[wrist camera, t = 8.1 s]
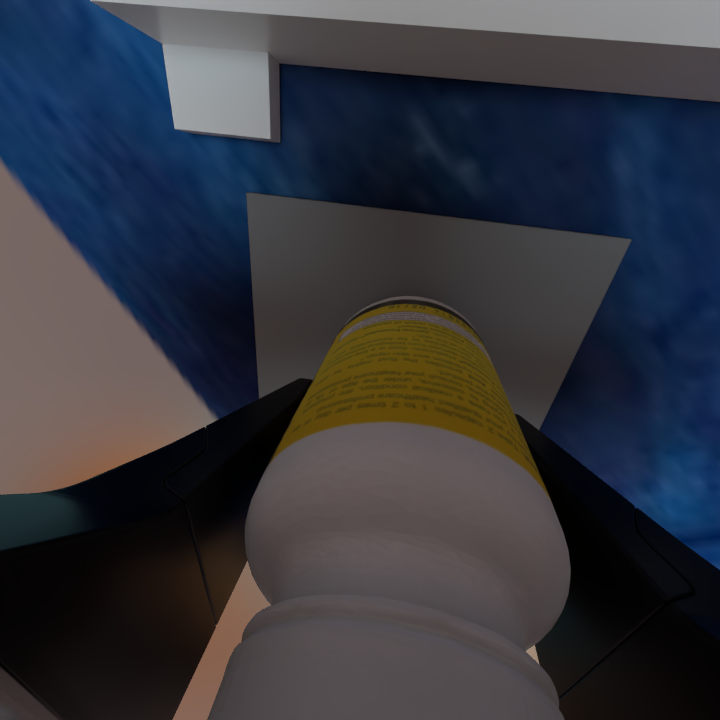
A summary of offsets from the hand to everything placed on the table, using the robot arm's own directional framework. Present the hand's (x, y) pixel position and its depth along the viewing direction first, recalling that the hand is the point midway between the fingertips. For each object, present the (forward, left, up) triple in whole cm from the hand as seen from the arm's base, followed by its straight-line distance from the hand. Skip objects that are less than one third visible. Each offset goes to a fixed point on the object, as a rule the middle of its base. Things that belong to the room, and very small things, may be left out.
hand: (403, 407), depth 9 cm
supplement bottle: (0, 0, -3) cm, 3 cm away
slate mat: (0, 0, -4) cm, 4 cm away
